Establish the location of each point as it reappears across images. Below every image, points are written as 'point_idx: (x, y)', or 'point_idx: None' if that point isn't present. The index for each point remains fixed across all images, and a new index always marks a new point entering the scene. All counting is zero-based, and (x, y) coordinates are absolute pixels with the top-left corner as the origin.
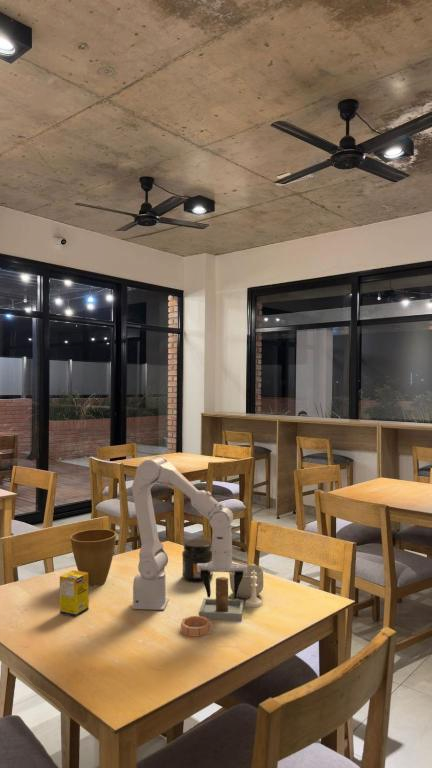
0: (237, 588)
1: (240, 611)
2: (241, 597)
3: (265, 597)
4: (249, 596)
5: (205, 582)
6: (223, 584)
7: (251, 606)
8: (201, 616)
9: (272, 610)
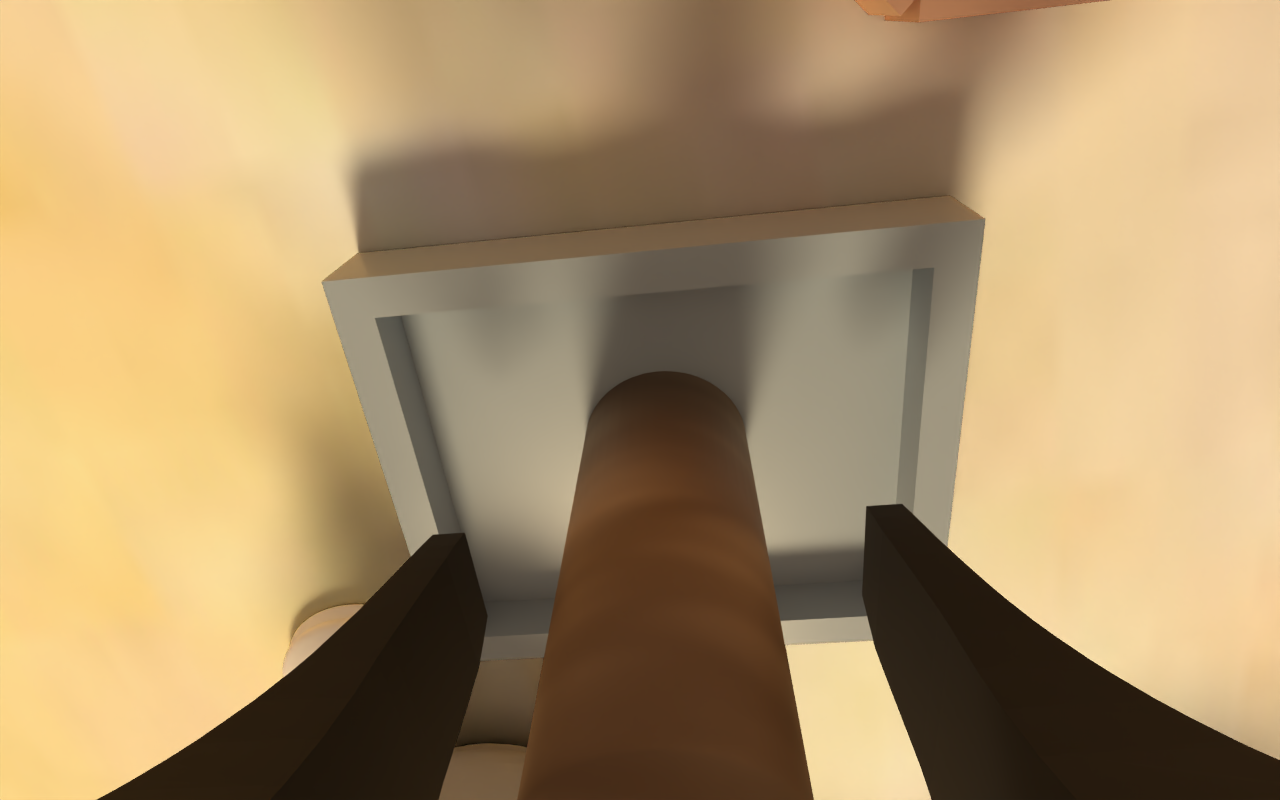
0: (321, 651)
1: (369, 358)
2: None
3: None
4: None
5: (1082, 691)
6: (601, 687)
7: None
8: (943, 11)
9: (130, 562)
